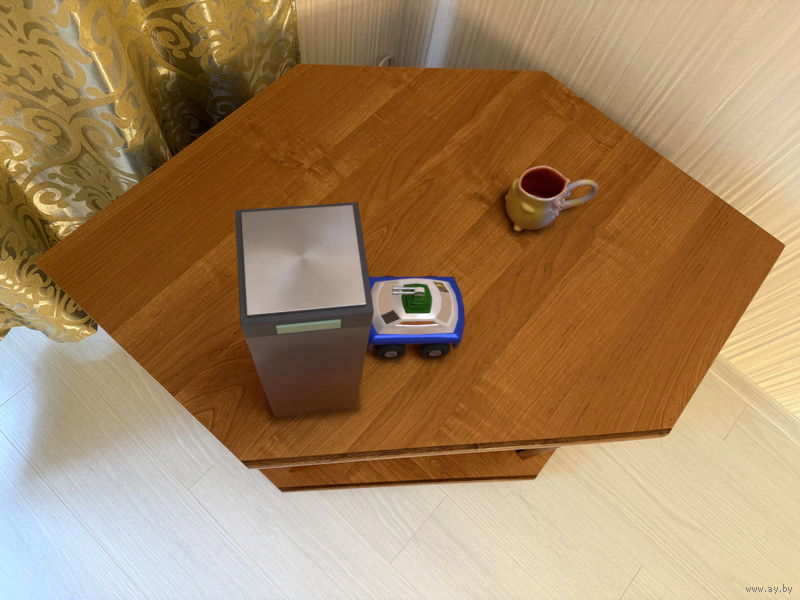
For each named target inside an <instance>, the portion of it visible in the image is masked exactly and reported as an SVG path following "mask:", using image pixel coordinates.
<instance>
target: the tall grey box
mask: <svg viewBox="0 0 800 600" xmlns="http://www.w3.org/2000/svg"><path fill="white" fill-rule="evenodd" d="M234 223H235V242H236V244H235V245H236V261H237V263H236V264H237V282H238V283H237V284H238V285H237V286H238V303H239V305H238V306H239V324H240V327H241V331H242V333H243V335H244V339H245V341H246V344H247V347H248V349H249V350H248V351H249V352H250V355H251V357H252V360H253V363H254V366H255V369H256V371H257V374H258V377H259V379H260V380H259V381H260V382H261V385H262V387H263V391H264V393H265V396H266V398H267V402H268V404H269V407H270V410H271V413H272V415H273V417H274V418H278V417H279V418H281V417H289V416H296V415H304V414H312V413H313V414H314V413H322V412H329V411H338V410H345V409H346V410H347V409H354V408H357V403H358V399H359V392H360V388H361V387H360V386H361V382H362V377H363V372H364V366H365V362H366V356H367V351H368V349H367V346H368V340H369V335H370V330H371V324H372V319H373V314H374V309H373V302H372V295H371V288H370V281H369V277H370V275H369V268H368V261H367V253H366V247H365V241H364V239H365V238H364V233H363V227H362V219H361V212H360V206H359V202H358V201H355V202H353V201H351V202H336V203H326V204H325V203H324V204H323V203H322V204H307V205H294V206H293V205H291V206H277V207H276V206H275V207H262V208H247V209H245V208H244V209H235V210H234Z"/></svg>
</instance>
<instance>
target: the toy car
mask: <svg viewBox="0 0 800 600" xmlns="http://www.w3.org/2000/svg"><path fill="white" fill-rule="evenodd" d="M369 281H370V288H371V295H372V302H373V309H374V314H373V319H372V324H371V330H370V335H369V340H368V346H367V351H373V348H374V351H375V352H374V353H375V356H376V357H378V358H380V359H398V358H401V357H404V356H406V354H407V345H418V347H419V348H418V349H419V355H420V356H421V357H424V358H434V359H435V358H441V357H444V356H446V355H449V354H450V353H451V347H450V344H451V346H452V349H453V350H454V349H455V350H456V349H459V346H460V344H461V342H462V341H463V340H462V338H463V334H464V329H465V325H466V321H465V320H466V319H465V318H466V315H465V312H466V311H465V305H464V299H463V295H462V292H461V289H460V287H459V285H458V283H457V280H456V278H455V276H437V275H425V276H394V275H383V276H369Z"/></svg>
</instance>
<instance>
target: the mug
mask: <svg viewBox="0 0 800 600" xmlns="http://www.w3.org/2000/svg"><path fill="white" fill-rule="evenodd" d="M583 186H589V187H591V189H590V190H589V192H587V193H586V194H584V195H582V196H580V197H577V198H573V199H569V198H570V197H571V195H572V193H571V191H572V190H574V189H576V188H579V187H583ZM599 189H600V188H599V185H598V183H597V182H596V181H594V180H592V179H589V178H583V179H578V180H576V181H573V182H571V180H570V178H567V177H565V175H563V174H562V173H560V171H558V170H557V169H555V168H554V167H551V166H548V165H537V166H533V167H530V168H528V169H526V170H525V171H523V172H522V173H521V175H520V177H517V178H515V179H514V180H513V181H512V182H511V185H510V188H509V190H508V192H507V194H506V195H505V196H504V199H505V210H506V213H507V215H508V217H509V219H510V220H511V222H512V223H513V230H514V231H515V232H521V231H522V230H527V231H528V230H529V231H534V230H535V231H536V230H541V229H543V228H546V227H547V226H549V225H551V224H552V223H553V222H554V221H555V220H556V219H557V218H558V216H560V214H561V211H564V210H567V209H571V208H574V207H575V208H576V207H577V206H580V205H583V204H585V203H587V202H589V201H591V200H593V199H595V197H596V196H597V195H598V193H599ZM567 199H568V200H567Z"/></svg>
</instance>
